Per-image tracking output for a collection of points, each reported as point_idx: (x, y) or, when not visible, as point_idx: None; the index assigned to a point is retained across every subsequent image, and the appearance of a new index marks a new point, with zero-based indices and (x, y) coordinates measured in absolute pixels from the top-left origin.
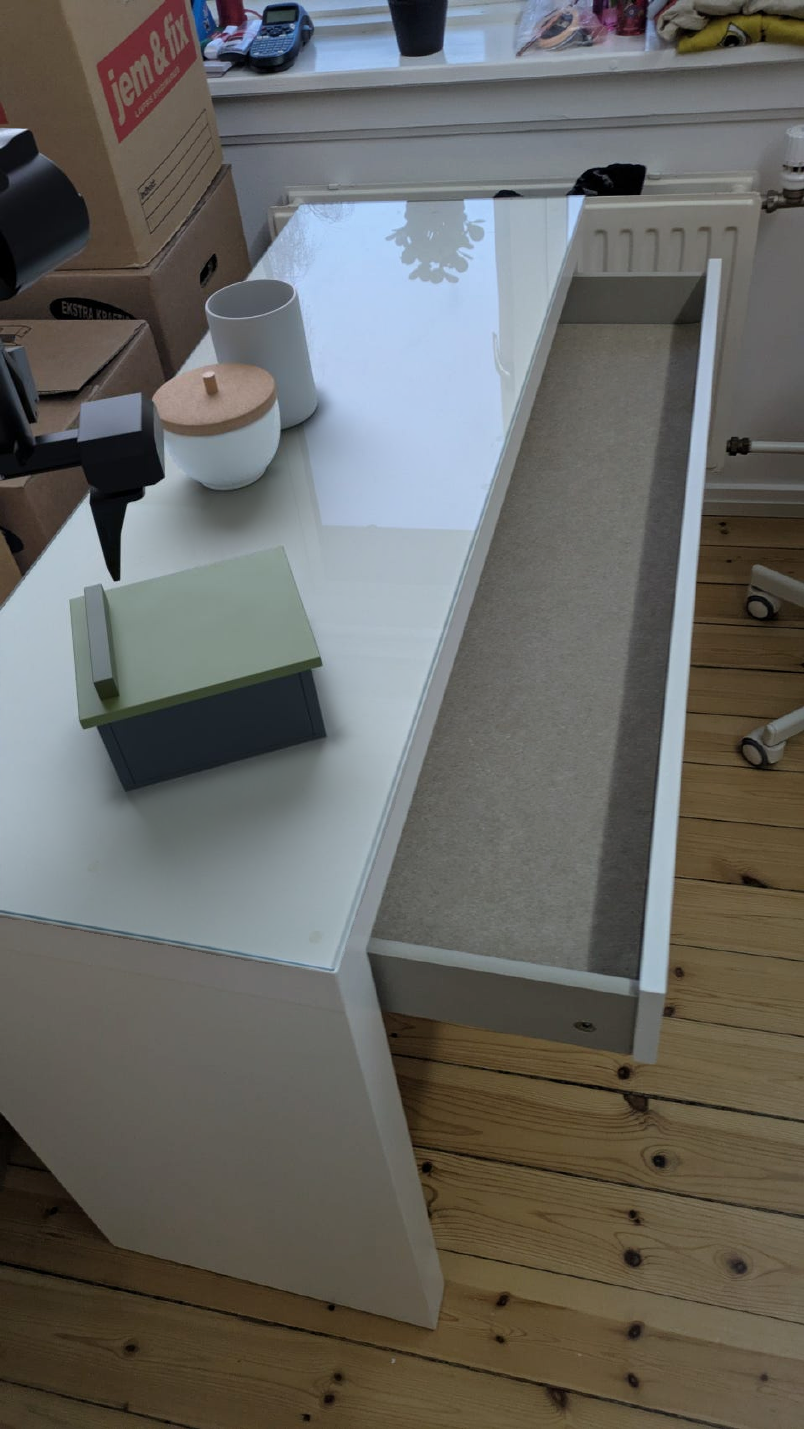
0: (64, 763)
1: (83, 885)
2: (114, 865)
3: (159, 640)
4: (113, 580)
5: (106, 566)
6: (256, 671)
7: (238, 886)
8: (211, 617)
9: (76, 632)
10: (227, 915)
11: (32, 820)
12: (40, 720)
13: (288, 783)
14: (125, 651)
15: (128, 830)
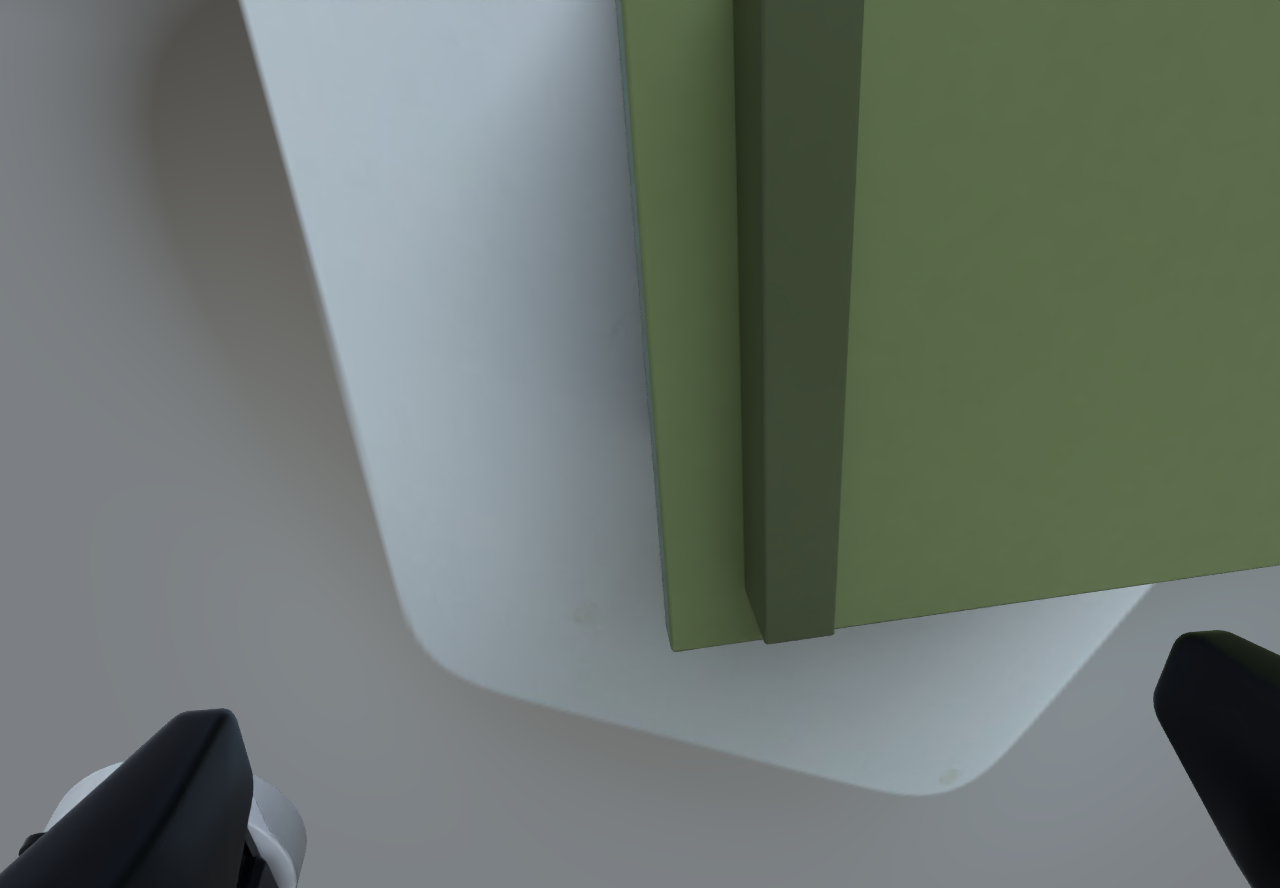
0: (481, 300)
1: (566, 650)
2: (629, 618)
3: (994, 338)
4: (1160, 720)
5: (1244, 875)
6: (1227, 563)
7: (856, 688)
8: (1221, 253)
9: (656, 174)
10: (826, 733)
11: (422, 475)
12: (366, 75)
13: None
14: (856, 367)
15: None
